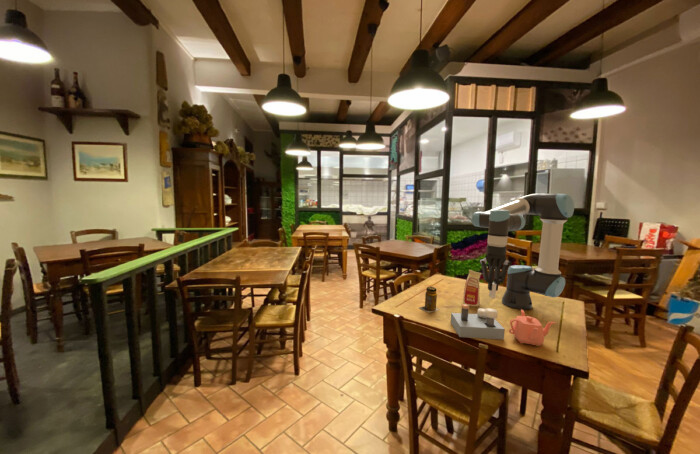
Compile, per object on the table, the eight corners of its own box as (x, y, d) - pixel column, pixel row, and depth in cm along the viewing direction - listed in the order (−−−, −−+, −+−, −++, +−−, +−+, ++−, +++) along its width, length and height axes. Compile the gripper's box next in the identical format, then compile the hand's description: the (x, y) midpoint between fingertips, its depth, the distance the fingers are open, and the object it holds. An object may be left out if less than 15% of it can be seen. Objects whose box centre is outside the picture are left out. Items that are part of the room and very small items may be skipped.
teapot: (519, 329, 129) (521, 307, 128) (553, 344, 117) (556, 320, 115) (500, 336, 122) (503, 313, 121) (534, 353, 110) (537, 327, 108)
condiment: (439, 309, 150) (440, 288, 148) (429, 313, 145) (430, 291, 144) (428, 305, 156) (430, 285, 154) (418, 308, 151) (419, 287, 150)
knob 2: (493, 324, 125) (494, 308, 124) (498, 329, 120) (499, 313, 119) (481, 323, 125) (483, 308, 124) (486, 328, 120) (487, 312, 119)
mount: (490, 324, 134) (490, 314, 133) (503, 339, 120) (504, 328, 119) (450, 322, 135) (451, 312, 134) (459, 337, 121) (460, 326, 121)
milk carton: (463, 304, 158) (465, 271, 155) (463, 299, 166) (465, 267, 164) (480, 307, 154) (483, 273, 152) (479, 301, 163) (482, 269, 160)
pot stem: (466, 318, 129) (467, 304, 128) (469, 321, 125) (470, 307, 124) (459, 317, 129) (460, 303, 128) (461, 321, 126) (462, 306, 125)
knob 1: (485, 323, 133) (486, 308, 132) (489, 328, 128) (491, 313, 127) (474, 322, 134) (476, 308, 133) (478, 327, 129) (480, 312, 128)
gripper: (508, 244, 121) (503, 295, 124) (478, 243, 122) (473, 293, 125) (517, 247, 114) (511, 301, 116) (484, 246, 115) (480, 299, 118)
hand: (491, 297), depth 121 cm, fingers closed
